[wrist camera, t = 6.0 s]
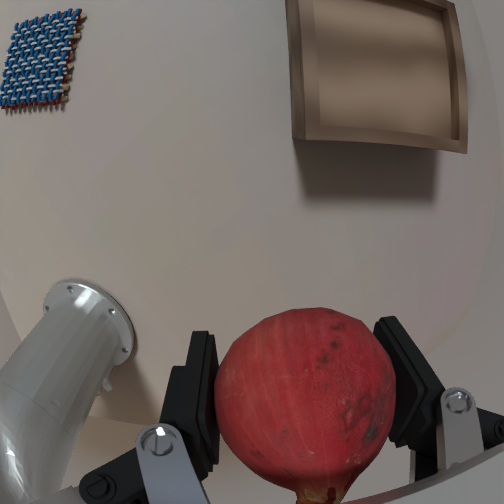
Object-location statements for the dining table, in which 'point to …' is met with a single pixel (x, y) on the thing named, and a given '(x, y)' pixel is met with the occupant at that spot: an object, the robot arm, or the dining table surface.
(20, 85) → the woven mat
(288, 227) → the dining table surface
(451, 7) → the walnut tray
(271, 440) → the pomegranate
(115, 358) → the robot arm
